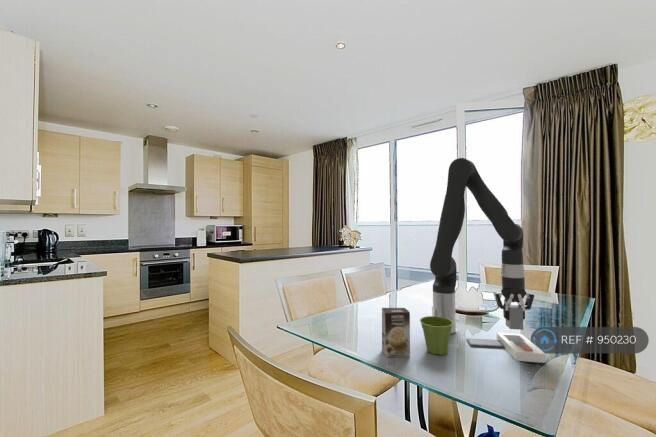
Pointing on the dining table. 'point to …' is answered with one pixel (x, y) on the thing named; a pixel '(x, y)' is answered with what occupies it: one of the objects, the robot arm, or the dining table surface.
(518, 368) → the dining table surface
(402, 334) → the coffee box
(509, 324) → the block
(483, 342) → the phone
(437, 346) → the plant pot
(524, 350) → the power strip
